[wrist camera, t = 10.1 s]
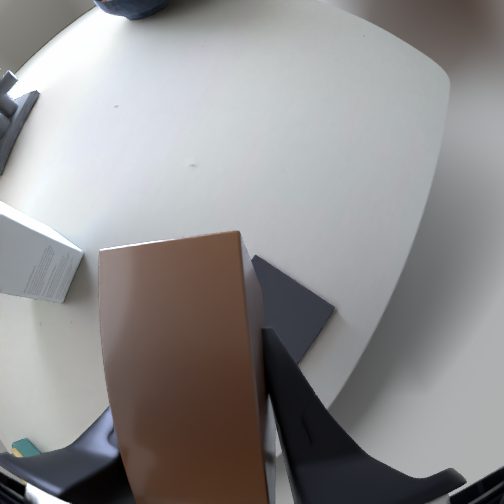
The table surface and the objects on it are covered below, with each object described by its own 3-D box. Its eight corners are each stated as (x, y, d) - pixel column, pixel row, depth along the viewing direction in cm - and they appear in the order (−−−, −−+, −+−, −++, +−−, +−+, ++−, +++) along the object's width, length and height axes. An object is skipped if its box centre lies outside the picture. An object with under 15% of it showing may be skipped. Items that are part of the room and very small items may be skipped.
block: (275, 416, 13) (275, 544, 3) (219, 419, 13) (147, 533, 4) (261, 288, 15) (239, 228, 5) (205, 294, 15) (97, 249, 5)
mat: (334, 307, 23) (335, 307, 22) (252, 420, 21) (251, 422, 21) (255, 255, 24) (255, 254, 24) (176, 367, 23) (174, 368, 22)
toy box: (74, 482, 20) (57, 493, 16) (70, 501, 19) (55, 512, 15) (26, 437, 21) (7, 444, 17) (24, 459, 20) (8, 466, 16)
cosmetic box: (27, 270, 26) (-74, 237, 11) (48, 221, 27) (-48, 168, 12) (65, 306, 24) (-58, 285, 9) (89, 250, 26) (-30, 195, 10)
